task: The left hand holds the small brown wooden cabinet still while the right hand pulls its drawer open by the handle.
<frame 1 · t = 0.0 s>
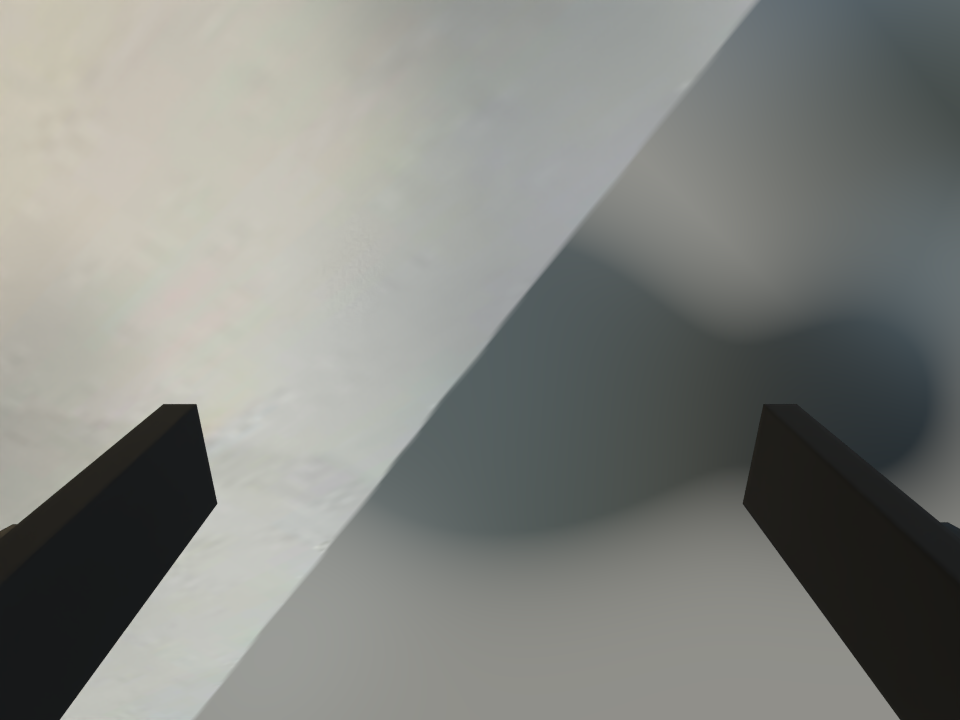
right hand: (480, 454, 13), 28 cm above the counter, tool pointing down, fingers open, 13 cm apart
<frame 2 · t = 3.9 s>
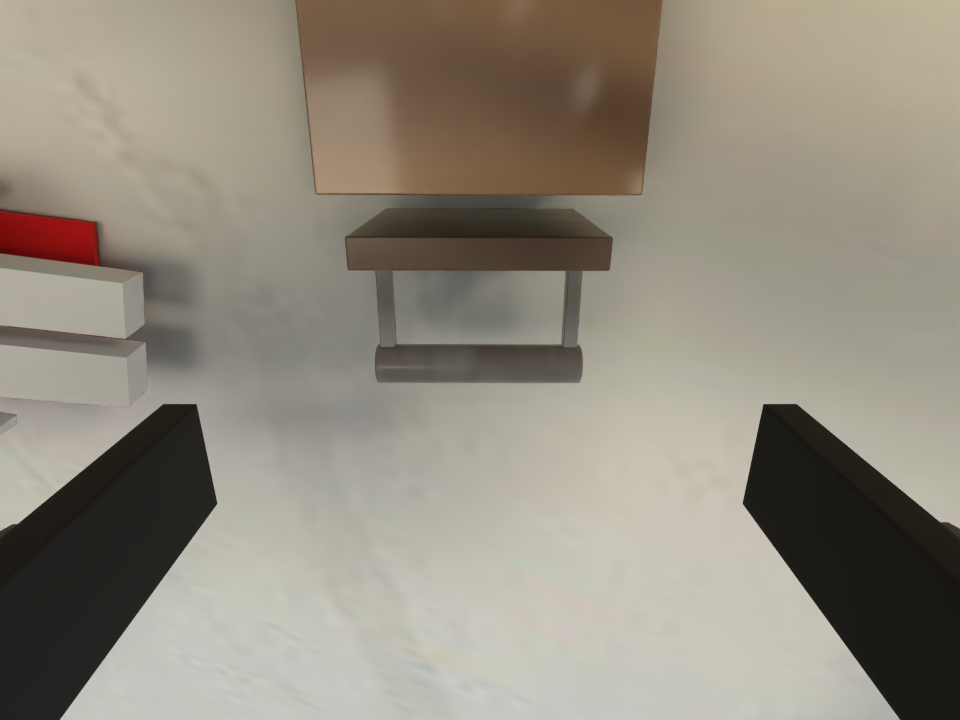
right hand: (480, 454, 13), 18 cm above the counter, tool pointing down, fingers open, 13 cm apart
drawer: (479, 126, 22), point 5 cm above the counter, slide at 1.5 cm
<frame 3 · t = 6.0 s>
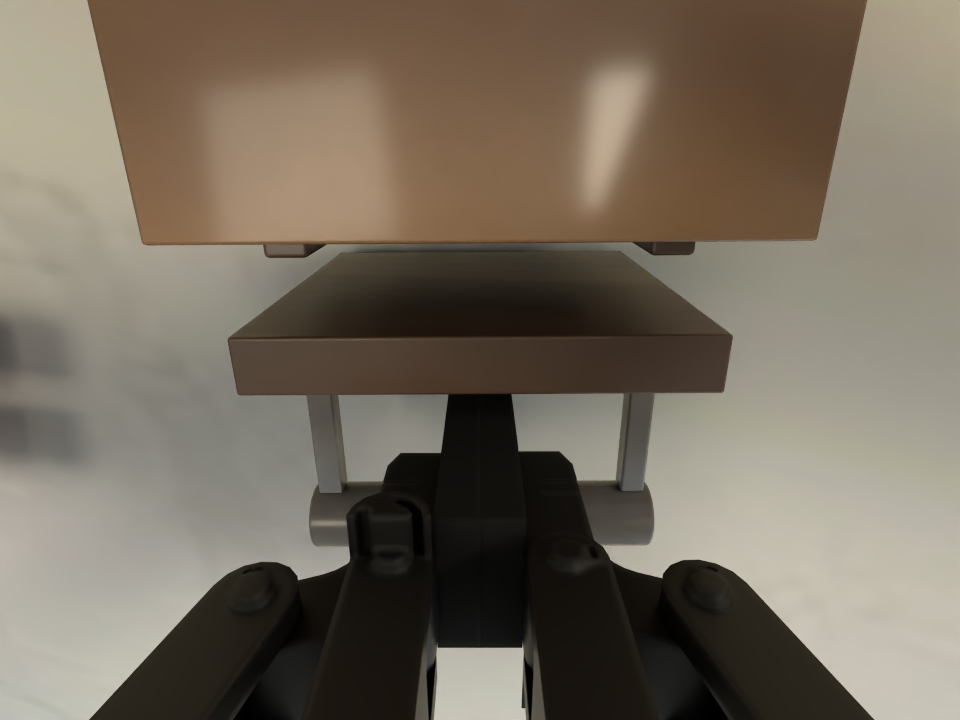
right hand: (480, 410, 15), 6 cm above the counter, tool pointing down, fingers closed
drawer: (479, 128, 13), point 5 cm above the counter, slide at 1.9 cm, touching right hand
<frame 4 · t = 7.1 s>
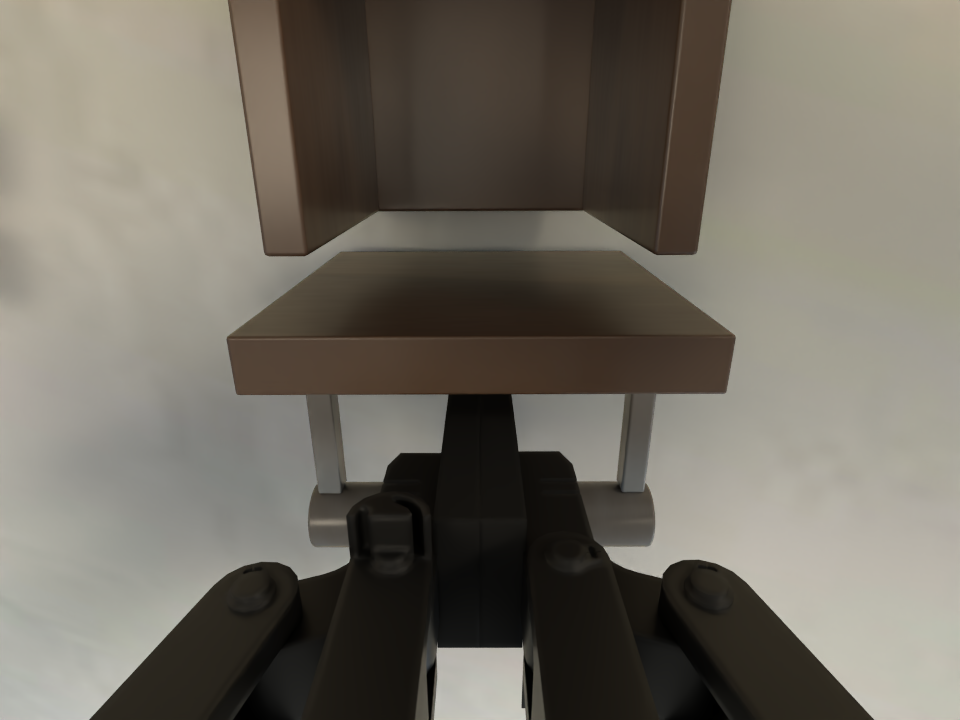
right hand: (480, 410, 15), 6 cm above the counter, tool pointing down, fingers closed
drawer: (480, 126, 13), point 5 cm above the counter, slide at 8.7 cm, touching right hand
when the left hand's fingers open (6 cm above the counter, at t = 8.8 s): cabinet stays where it is, on the counter.
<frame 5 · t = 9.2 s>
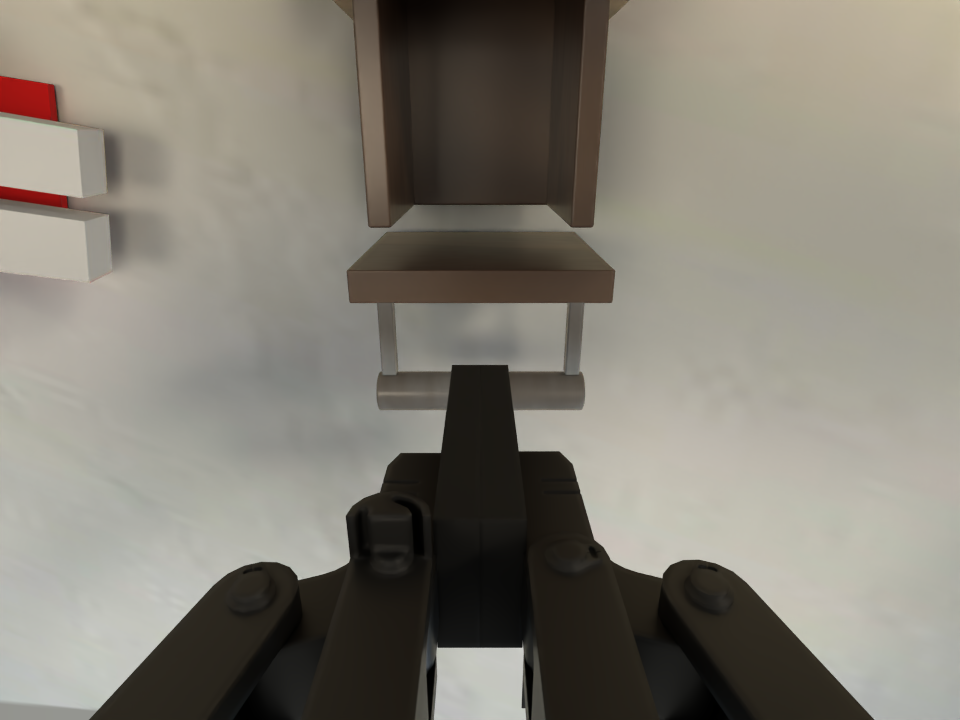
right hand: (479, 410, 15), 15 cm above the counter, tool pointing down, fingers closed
drawer: (480, 155, 22), point 5 cm above the counter, slide at 8.9 cm
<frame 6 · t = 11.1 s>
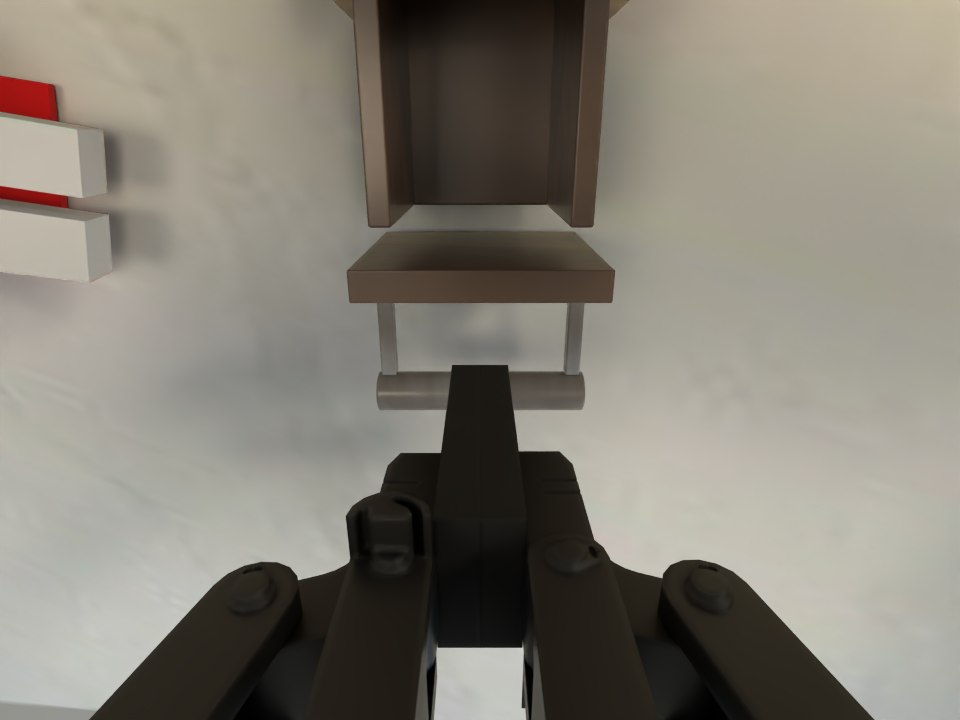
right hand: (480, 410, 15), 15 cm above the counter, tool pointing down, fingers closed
drawer: (480, 154, 22), point 5 cm above the counter, slide at 8.9 cm
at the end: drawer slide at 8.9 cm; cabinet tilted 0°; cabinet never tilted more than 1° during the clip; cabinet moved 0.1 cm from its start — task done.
